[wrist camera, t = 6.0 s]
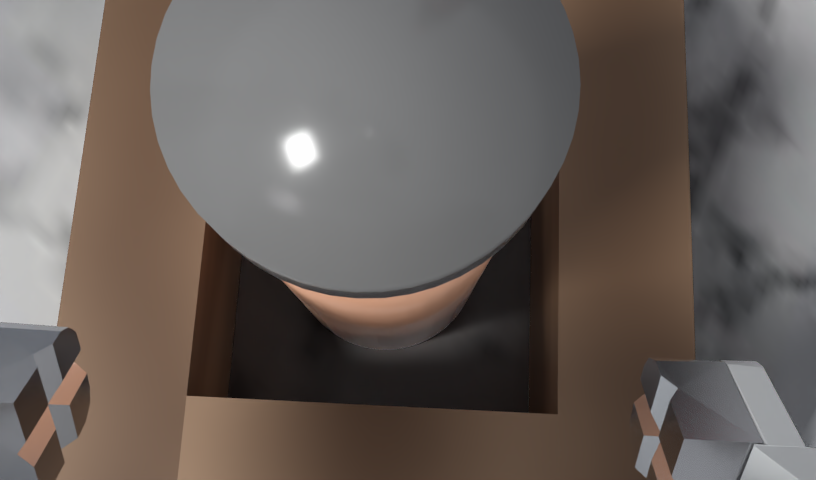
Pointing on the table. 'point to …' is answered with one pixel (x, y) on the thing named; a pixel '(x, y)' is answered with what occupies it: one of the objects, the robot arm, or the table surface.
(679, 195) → the walnut holder
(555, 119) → the terracotta jar
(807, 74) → the table surface
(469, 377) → the table surface
